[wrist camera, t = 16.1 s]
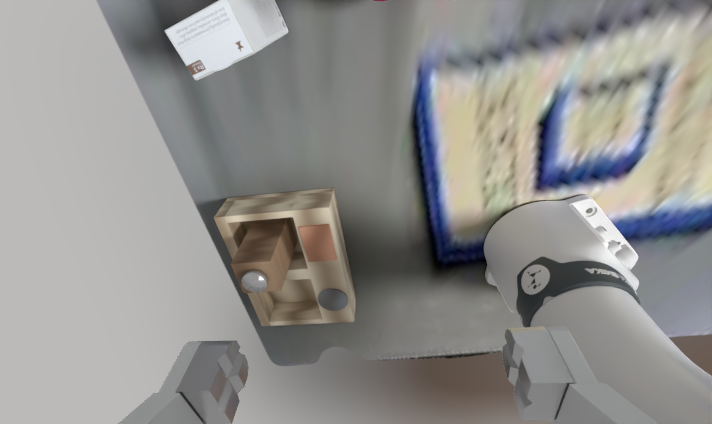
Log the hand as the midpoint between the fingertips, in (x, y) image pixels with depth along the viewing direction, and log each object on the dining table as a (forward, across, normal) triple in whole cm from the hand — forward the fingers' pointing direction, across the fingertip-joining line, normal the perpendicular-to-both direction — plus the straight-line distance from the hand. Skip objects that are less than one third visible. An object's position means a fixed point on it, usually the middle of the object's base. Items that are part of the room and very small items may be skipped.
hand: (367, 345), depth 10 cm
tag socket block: (+34, +15, +24) cm, 44 cm away
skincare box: (+34, +12, -8) cm, 37 cm away
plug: (+33, +16, +18) cm, 41 cm away
